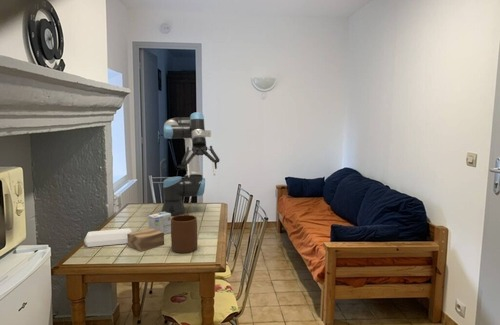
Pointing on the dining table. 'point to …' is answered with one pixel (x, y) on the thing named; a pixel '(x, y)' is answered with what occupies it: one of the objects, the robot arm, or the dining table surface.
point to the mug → (184, 233)
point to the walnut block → (145, 239)
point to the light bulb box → (160, 222)
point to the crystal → (107, 237)
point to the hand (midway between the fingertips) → (201, 175)
